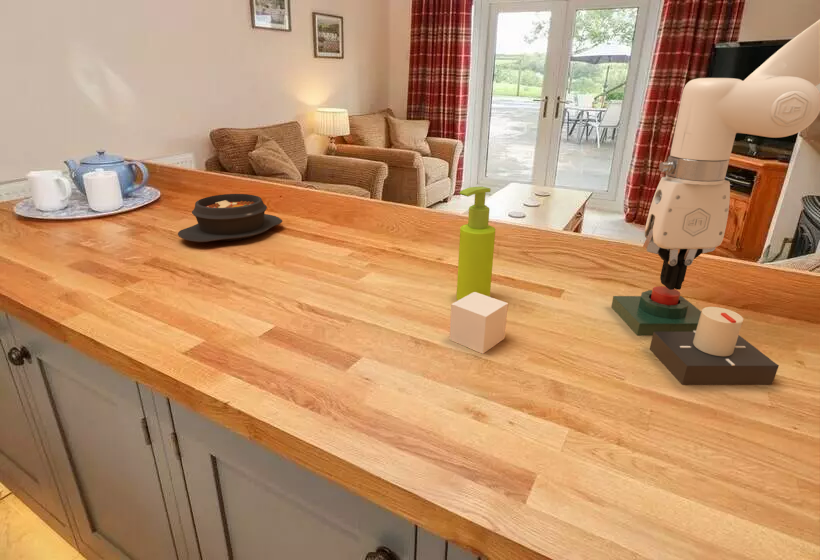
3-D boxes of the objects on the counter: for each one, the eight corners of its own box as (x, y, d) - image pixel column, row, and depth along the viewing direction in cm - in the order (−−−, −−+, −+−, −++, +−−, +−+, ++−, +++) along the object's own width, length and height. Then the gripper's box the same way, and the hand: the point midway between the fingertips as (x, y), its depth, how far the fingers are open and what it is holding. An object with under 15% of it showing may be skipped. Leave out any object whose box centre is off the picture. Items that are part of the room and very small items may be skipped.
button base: (679, 307, 85) (684, 286, 84) (713, 335, 76) (719, 312, 75) (611, 307, 85) (615, 286, 83) (636, 335, 76) (642, 312, 74)
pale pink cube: (449, 340, 74) (451, 303, 72) (471, 326, 78) (474, 291, 76) (482, 354, 70) (486, 316, 68) (504, 338, 74) (508, 302, 72)
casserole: (204, 256, 105) (198, 218, 102) (164, 237, 116) (158, 203, 113) (298, 230, 123) (296, 197, 120) (256, 217, 134) (252, 186, 131)
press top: (669, 295, 81) (672, 286, 80) (682, 306, 77) (685, 296, 77) (646, 295, 81) (648, 286, 80) (657, 306, 77) (660, 296, 77)
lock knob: (685, 338, 69) (694, 304, 67) (718, 338, 69) (729, 304, 67) (705, 356, 65) (716, 321, 63) (741, 356, 65) (752, 320, 63)
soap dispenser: (445, 298, 87) (450, 187, 79) (473, 289, 91) (480, 182, 83) (468, 310, 83) (475, 193, 75) (496, 300, 87) (506, 188, 79)
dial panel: (729, 349, 72) (735, 330, 71) (772, 385, 64) (779, 364, 63) (649, 349, 72) (653, 330, 71) (681, 385, 64) (687, 364, 63)
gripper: (657, 175, 67) (634, 296, 74) (764, 174, 68) (731, 295, 75) (633, 165, 74) (614, 277, 81) (730, 165, 75) (702, 276, 82)
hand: (670, 286), depth 78 cm, fingers closed
